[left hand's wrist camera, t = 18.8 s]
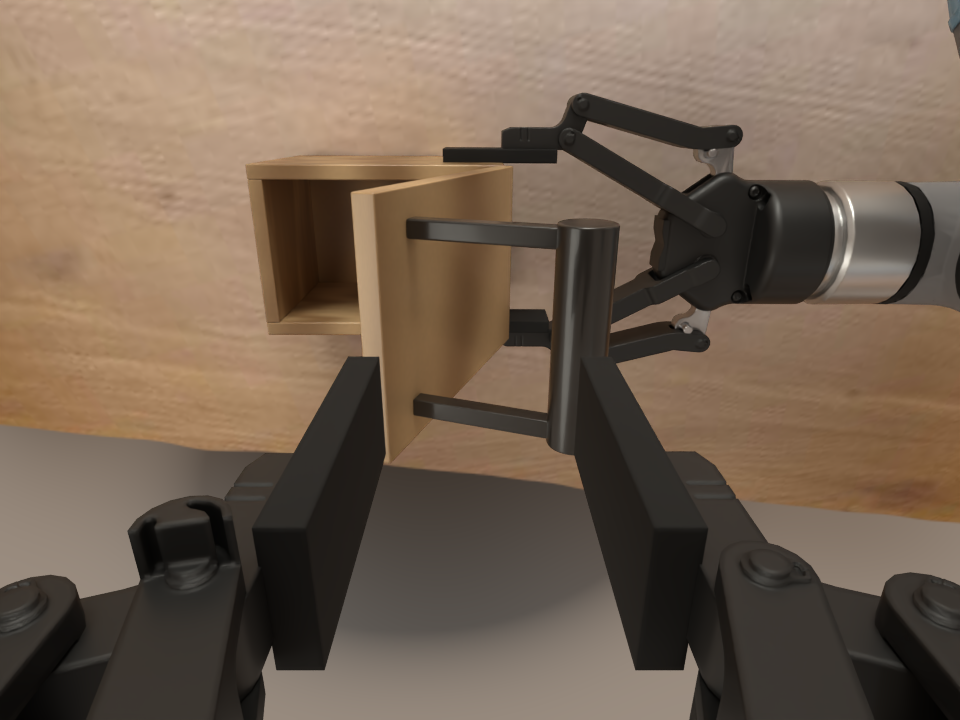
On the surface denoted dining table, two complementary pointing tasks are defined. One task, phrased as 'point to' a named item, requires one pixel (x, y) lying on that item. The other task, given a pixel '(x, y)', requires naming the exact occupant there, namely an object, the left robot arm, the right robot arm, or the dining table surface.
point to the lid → (471, 300)
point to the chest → (320, 233)
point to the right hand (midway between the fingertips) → (445, 242)
